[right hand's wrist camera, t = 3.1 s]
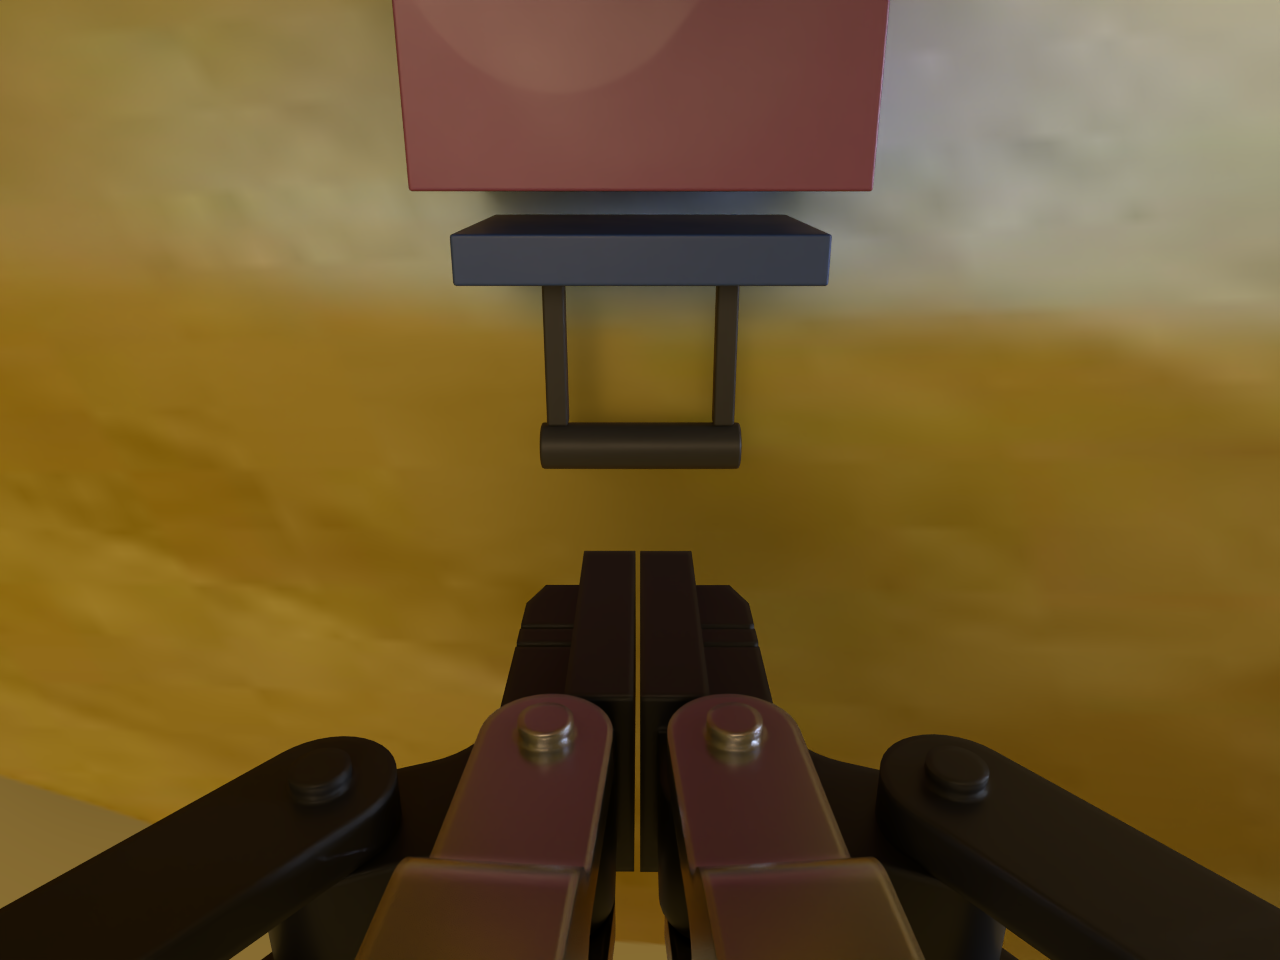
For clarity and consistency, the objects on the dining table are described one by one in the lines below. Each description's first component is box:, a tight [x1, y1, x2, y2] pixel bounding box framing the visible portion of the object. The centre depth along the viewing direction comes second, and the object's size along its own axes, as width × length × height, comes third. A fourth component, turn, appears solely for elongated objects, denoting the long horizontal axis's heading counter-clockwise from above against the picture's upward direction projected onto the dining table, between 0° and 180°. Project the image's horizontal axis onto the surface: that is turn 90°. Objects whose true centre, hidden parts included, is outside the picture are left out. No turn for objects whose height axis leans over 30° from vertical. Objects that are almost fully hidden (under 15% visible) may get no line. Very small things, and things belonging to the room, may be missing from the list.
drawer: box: [450, 215, 832, 469], centre depth 22 cm, size 20×9×7 cm, turn 0°
